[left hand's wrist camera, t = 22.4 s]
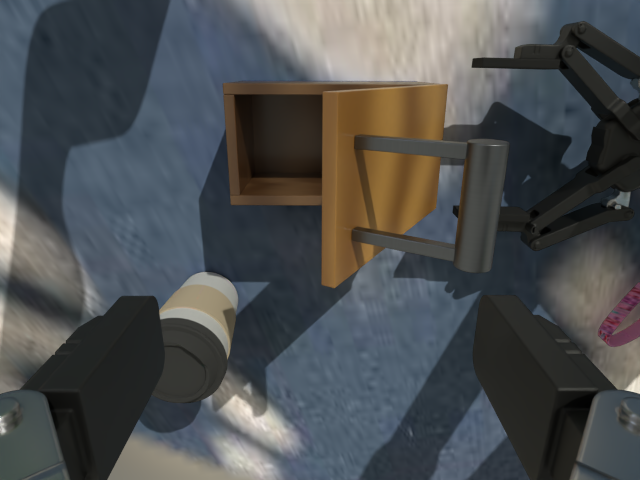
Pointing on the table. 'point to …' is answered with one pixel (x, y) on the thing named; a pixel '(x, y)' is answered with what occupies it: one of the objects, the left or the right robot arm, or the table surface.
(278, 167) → the chest
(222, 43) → the table surface
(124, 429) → the left robot arm
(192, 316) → the coffee cup
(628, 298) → the headband
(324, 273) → the lid
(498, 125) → the table surface
